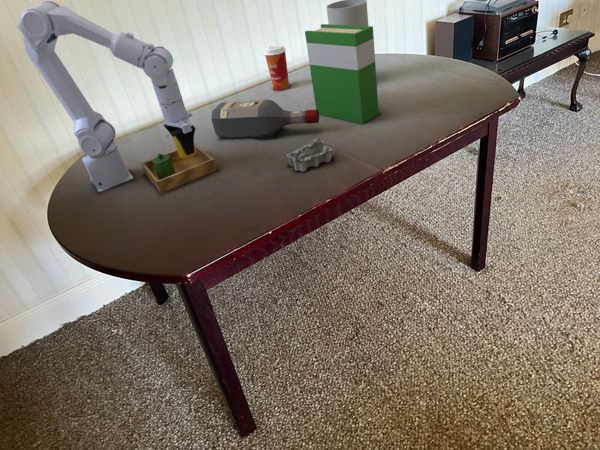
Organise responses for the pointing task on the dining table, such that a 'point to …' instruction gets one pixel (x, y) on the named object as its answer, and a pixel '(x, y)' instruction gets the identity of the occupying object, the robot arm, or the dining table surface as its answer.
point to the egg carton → (310, 155)
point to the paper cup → (277, 66)
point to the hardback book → (343, 71)
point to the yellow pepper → (180, 149)
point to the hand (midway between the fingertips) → (186, 150)
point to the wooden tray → (181, 169)
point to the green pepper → (163, 166)
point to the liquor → (256, 118)
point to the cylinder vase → (348, 13)
